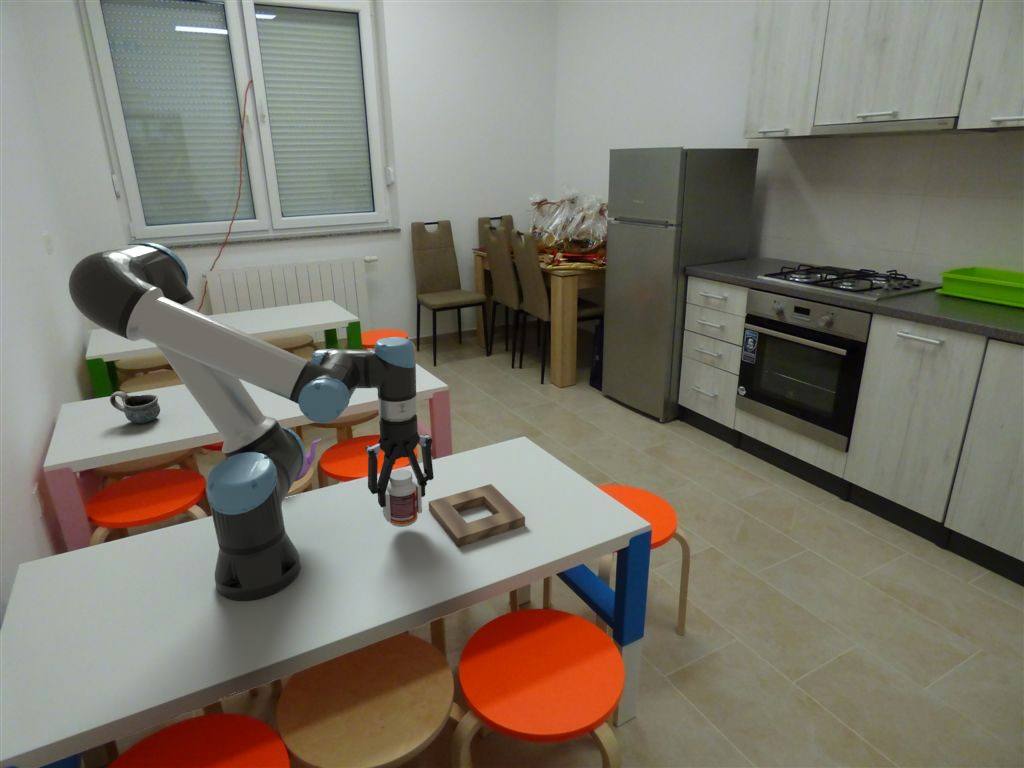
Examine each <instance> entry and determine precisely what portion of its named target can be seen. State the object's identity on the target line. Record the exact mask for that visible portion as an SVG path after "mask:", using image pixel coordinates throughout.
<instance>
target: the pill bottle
mask: <svg viewBox="0 0 1024 768" xmlns="http://www.w3.org/2000/svg"><path fill="white" fill-rule="evenodd" d="M414 481H415V480H413V473H412V471H411V470H409V469H405V468H404V469H403V468H400V469H395V470H392V472H391V475H390V479H389V482H388V486H387V491H388V492H389V494H390V512H391V521H389V523H390V525H392V526H394V527H397V528H406V527H409V526H411V525H413V524H415V523H416V522H417V520H418V512H417V492H416V484H415V482H414Z"/></svg>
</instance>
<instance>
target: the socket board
mask: <svg viewBox="0 0 1024 768" xmlns="http://www.w3.org/2000/svg"><path fill="white" fill-rule="evenodd" d="M482 505H484V506H485V508H487V509H488V510H489V512H490V513H491V515H489V516H485V517H482V518H479V519H475V520H473V521H472V520H471V521H469V522H467V521H466V520H465V519H464V518H463V517H462V515H461V514H460V513H459V512H463V511H466V510H469V509H472V508H473V509H474V508H475V507H479V506H482ZM428 511H429V512H430V513H431V514H432V517H434V518H435V520H436V521H437V522H438V524H439V525H440V526H441V527H442V529H443V530H444V532H445V533H446V534H447V535H448V536H449V538H450V539H451V540H452V542H453V543H454V544H455V545H456V547H458V548H460V547H462V546H466V545H469V544H472V543H475V542H478V541H481V540H484V539H488V538H490V537H494V536H496V535H499V534H503V533H506V532H509V531H511V530H515V529H518V528H521V527H524V526H526V516H525V515H524V514H523V513H522V511H520V510H519V509H518V508H517V507H516V506H515V505H514V504H512V502H511V501H510V500H508V498H507V497H505V495H504V494H502V493H501V492H500V491H499V490H498V489H497V488H496V486H494V485H493V484H492V483H490V484H486V485H485V484H484V485H483V486H478V487H475V488H472V489H468V490H465V491H461V492H458V493H455V494H450V495H447V496H443V497H440V498H436V499H433V500H429V501H428ZM492 514H493V515H492Z"/></svg>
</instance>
